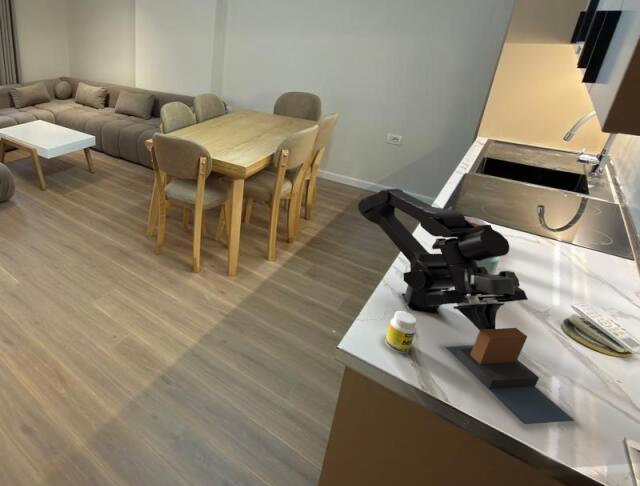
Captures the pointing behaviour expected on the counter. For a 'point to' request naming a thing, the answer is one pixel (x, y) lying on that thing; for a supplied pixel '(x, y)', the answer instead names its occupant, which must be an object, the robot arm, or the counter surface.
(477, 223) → the candle
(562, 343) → the counter surface
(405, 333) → the supplement bottle
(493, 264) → the cup
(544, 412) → the mat
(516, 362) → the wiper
